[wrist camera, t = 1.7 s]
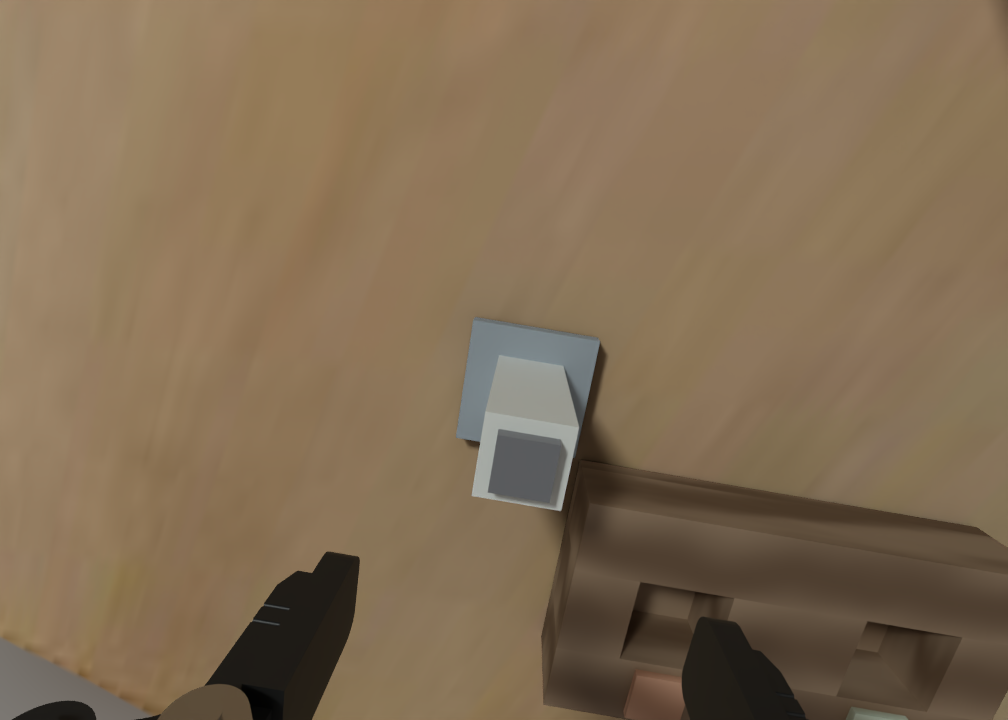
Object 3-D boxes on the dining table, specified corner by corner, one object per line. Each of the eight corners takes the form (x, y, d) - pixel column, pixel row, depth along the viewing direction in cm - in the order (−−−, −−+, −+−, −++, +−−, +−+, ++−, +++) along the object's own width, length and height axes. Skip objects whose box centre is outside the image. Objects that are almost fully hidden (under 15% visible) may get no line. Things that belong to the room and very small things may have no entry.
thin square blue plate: (475, 316, 28) (473, 320, 27) (597, 337, 28) (600, 341, 27) (458, 431, 30) (456, 437, 29) (573, 450, 30) (574, 458, 29)
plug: (499, 355, 28) (483, 417, 18) (563, 365, 28) (580, 433, 18) (489, 415, 28) (469, 503, 19) (551, 425, 28) (562, 519, 19)
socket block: (580, 459, 30) (590, 507, 25) (976, 527, 30) (1071, 589, 25) (541, 635, 33) (543, 711, 28) (898, 697, 33) (967, 785, 28)
